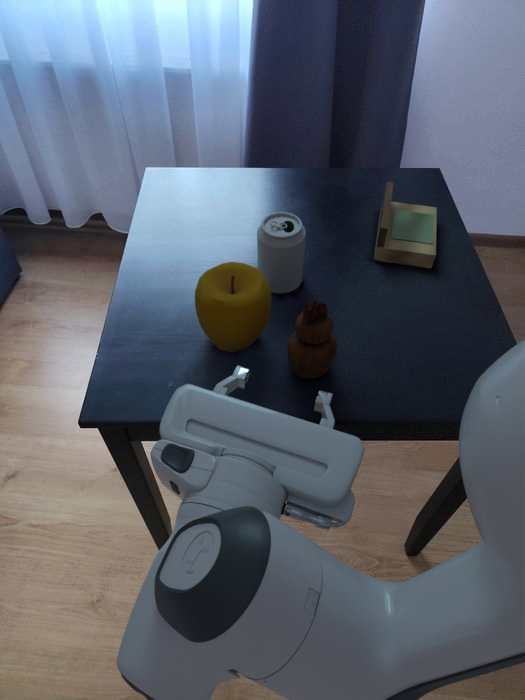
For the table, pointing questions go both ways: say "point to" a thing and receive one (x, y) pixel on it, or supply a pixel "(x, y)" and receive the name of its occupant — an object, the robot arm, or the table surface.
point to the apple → (233, 305)
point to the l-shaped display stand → (406, 233)
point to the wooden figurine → (312, 342)
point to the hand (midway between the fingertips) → (284, 382)
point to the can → (281, 251)
